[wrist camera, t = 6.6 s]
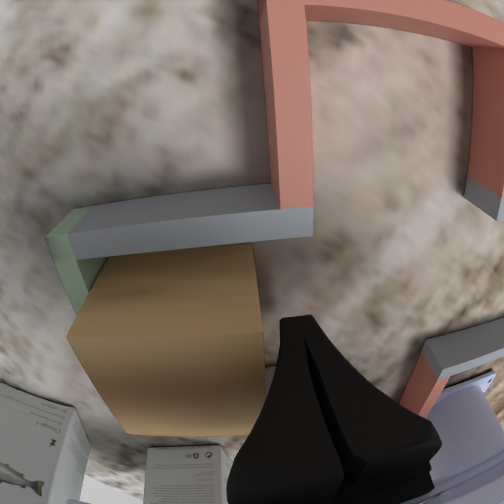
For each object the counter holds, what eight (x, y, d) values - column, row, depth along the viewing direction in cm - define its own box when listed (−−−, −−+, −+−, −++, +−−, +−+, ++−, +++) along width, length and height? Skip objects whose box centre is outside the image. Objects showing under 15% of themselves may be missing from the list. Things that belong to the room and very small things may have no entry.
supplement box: (77, 405, 19) (42, 560, 8) (92, 446, 22) (72, 566, 11) (-3, 377, 17) (-53, 509, 6) (23, 423, 21) (-8, 532, 10)
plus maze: (480, 381, 21) (492, 401, 19) (172, 437, 21) (170, 465, 18) (568, 72, 8) (598, 80, 6) (43, 44, 8) (5, 41, 6)
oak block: (258, 347, 16) (267, 433, 12) (144, 352, 16) (127, 433, 11) (252, 243, 13) (263, 331, 9) (110, 254, 13) (66, 337, 8)
